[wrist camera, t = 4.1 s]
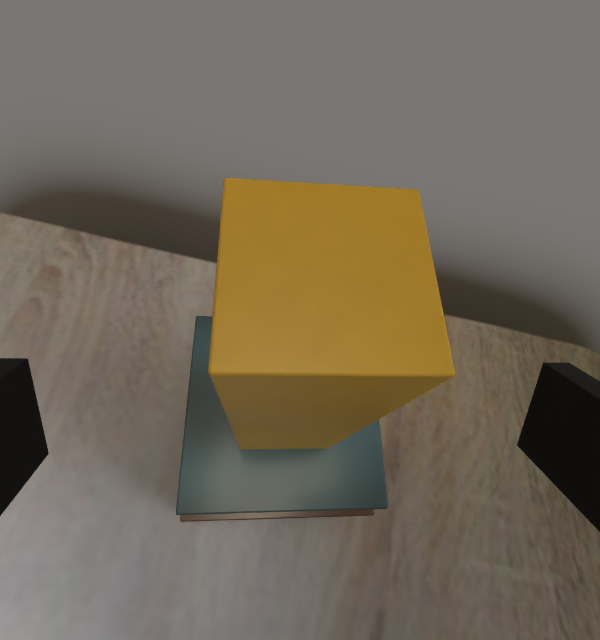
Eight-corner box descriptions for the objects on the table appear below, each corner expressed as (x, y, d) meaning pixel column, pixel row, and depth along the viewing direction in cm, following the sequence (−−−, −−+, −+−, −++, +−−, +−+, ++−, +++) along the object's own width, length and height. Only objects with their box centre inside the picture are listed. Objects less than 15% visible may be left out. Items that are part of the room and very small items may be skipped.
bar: (328, 448, 17) (457, 376, 6) (240, 449, 17) (207, 374, 6) (324, 364, 19) (419, 188, 8) (243, 363, 18) (223, 176, 7)
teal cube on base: (356, 511, 23) (401, 521, 16) (192, 516, 22) (161, 529, 15) (344, 358, 27) (376, 311, 20) (206, 356, 26) (186, 306, 19)
